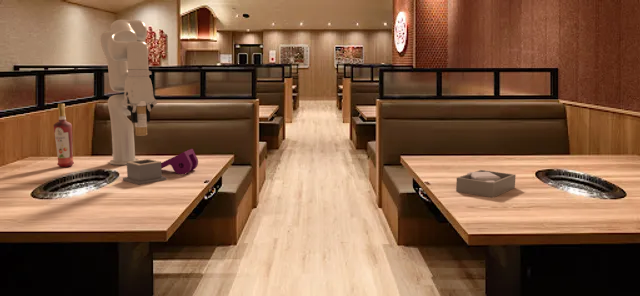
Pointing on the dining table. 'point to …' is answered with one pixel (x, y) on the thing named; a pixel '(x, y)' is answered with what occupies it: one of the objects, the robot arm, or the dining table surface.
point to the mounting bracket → (182, 162)
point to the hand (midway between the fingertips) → (140, 121)
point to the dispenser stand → (486, 184)
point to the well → (144, 171)
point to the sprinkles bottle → (141, 119)
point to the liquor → (63, 139)
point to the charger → (484, 176)
